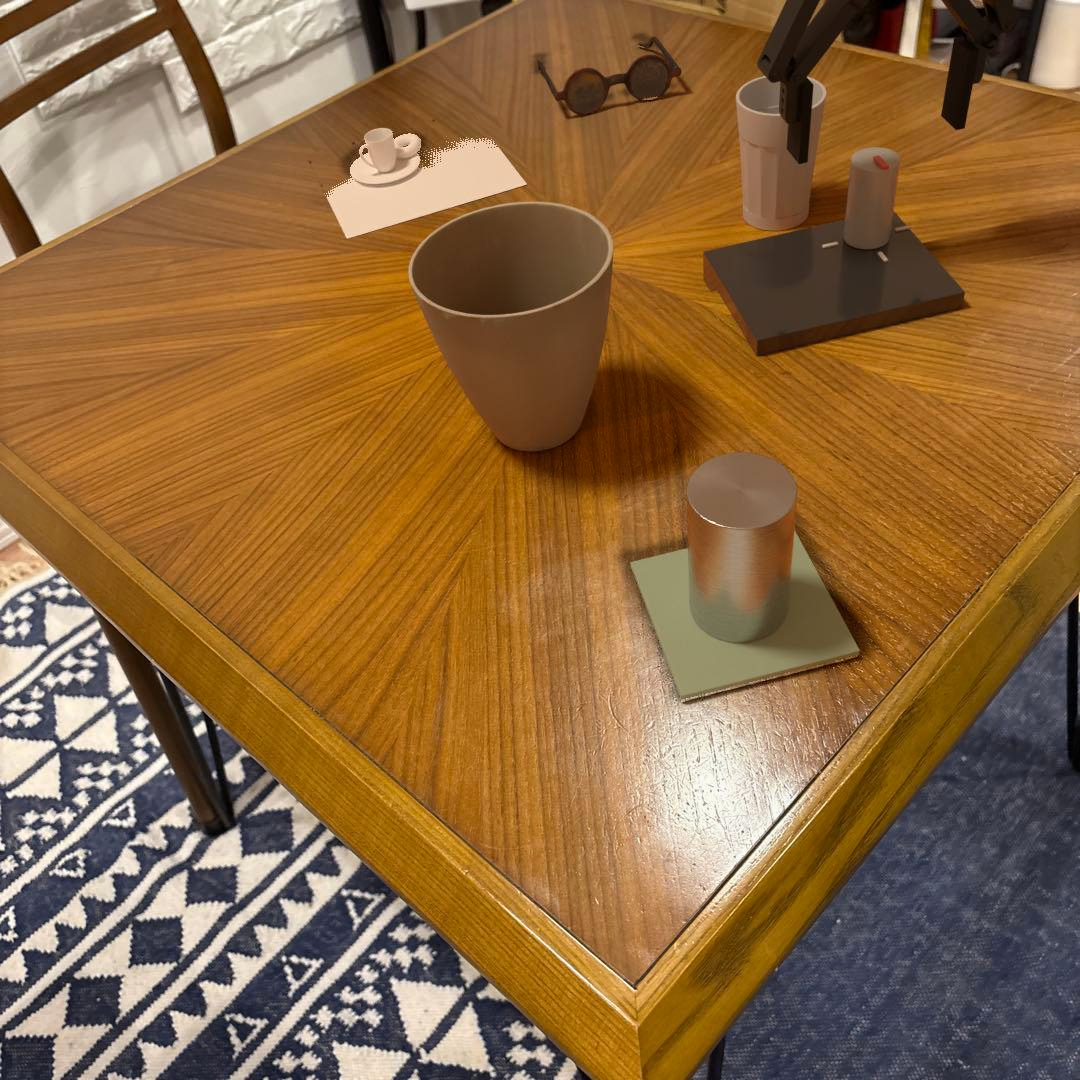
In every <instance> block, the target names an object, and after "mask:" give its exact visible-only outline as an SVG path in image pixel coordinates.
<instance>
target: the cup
mask: <svg viewBox="0 0 1080 1080" xmlns="http://www.w3.org/2000/svg"><path fill="white" fill-rule="evenodd" d="M807 78H808V79H809V80H810V81H811V82H812V84H813V85H814V87H813V99H812V112H811V125H810V138H809V151H808V162H807V163H803V164H798V163H797V161H796V160H795V159H794V158H793V156H792V155H791V154H790V153H789V151H788V150H787V135H788V124H787V123H786V122H785V121H784V120H783V118H782V117H781V115H780V113H779V99H780V98H779V97H780V82H776V83H771V82H770V81H769V80H768V79H767V78H766V77H765V75H763V76H759V77H756V78H754V79H751V80H749V81H747V82H746V83H744V84H742V86H741V87H740V88H739V89H737V91H736V94H735V104H736V116H737V128H738V129H737V130H738V139H739V154H740V155H739V156H740V157H739V158H740V170H741V171H740V172H741V187H742V188H741V189H742V190H741V191H742V218H743V220H744V222H745V223H747V224H748V225H749V226H751V227H752V228H756V229H758V230H762V231H768V232H769V231H770V232H779V231H786V230H791V229H793V228H796V227H798V226H800V225H802V224H803V223H804V222H805V221H806V220H807V219H808V217H809V212H810V198H811V192H812V184H813V179H814V172H815V167H816V159H817V154H818V153H817V152H818V146H819V140H820V134H821V129H822V124H823V119H824V112H825V106H826V99H827V92H828V91H827V88H826V87H825V85H824V84H823V83H821V81H818V80H817V79H815V78H813V77H810V76H807Z"/></svg>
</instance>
